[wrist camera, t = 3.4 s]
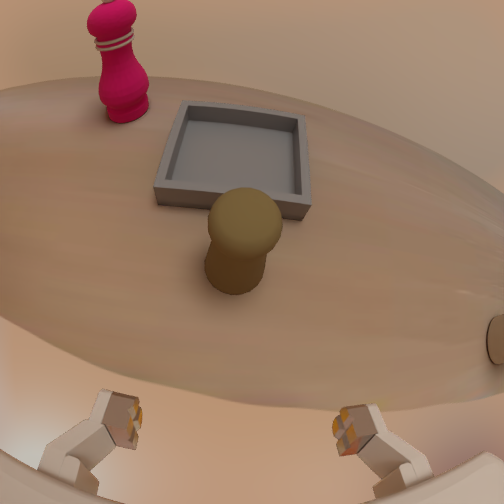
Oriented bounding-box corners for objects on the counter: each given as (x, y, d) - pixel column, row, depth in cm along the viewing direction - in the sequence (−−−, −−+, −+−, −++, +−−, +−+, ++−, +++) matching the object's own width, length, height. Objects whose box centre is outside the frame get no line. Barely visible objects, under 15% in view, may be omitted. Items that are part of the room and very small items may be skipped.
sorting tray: (158, 204, 29) (153, 186, 26) (183, 119, 34) (182, 100, 31) (301, 220, 31) (311, 204, 28) (298, 133, 36) (304, 115, 33)
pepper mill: (114, 97, 35) (93, -11, 17) (156, 94, 36) (148, -21, 18) (99, 127, 32) (65, 8, 14) (145, 124, 33) (127, -7, 15)
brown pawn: (266, 241, 29) (294, 181, 19) (261, 298, 27) (292, 261, 17) (209, 233, 29) (209, 168, 19) (200, 290, 27) (193, 248, 16)
